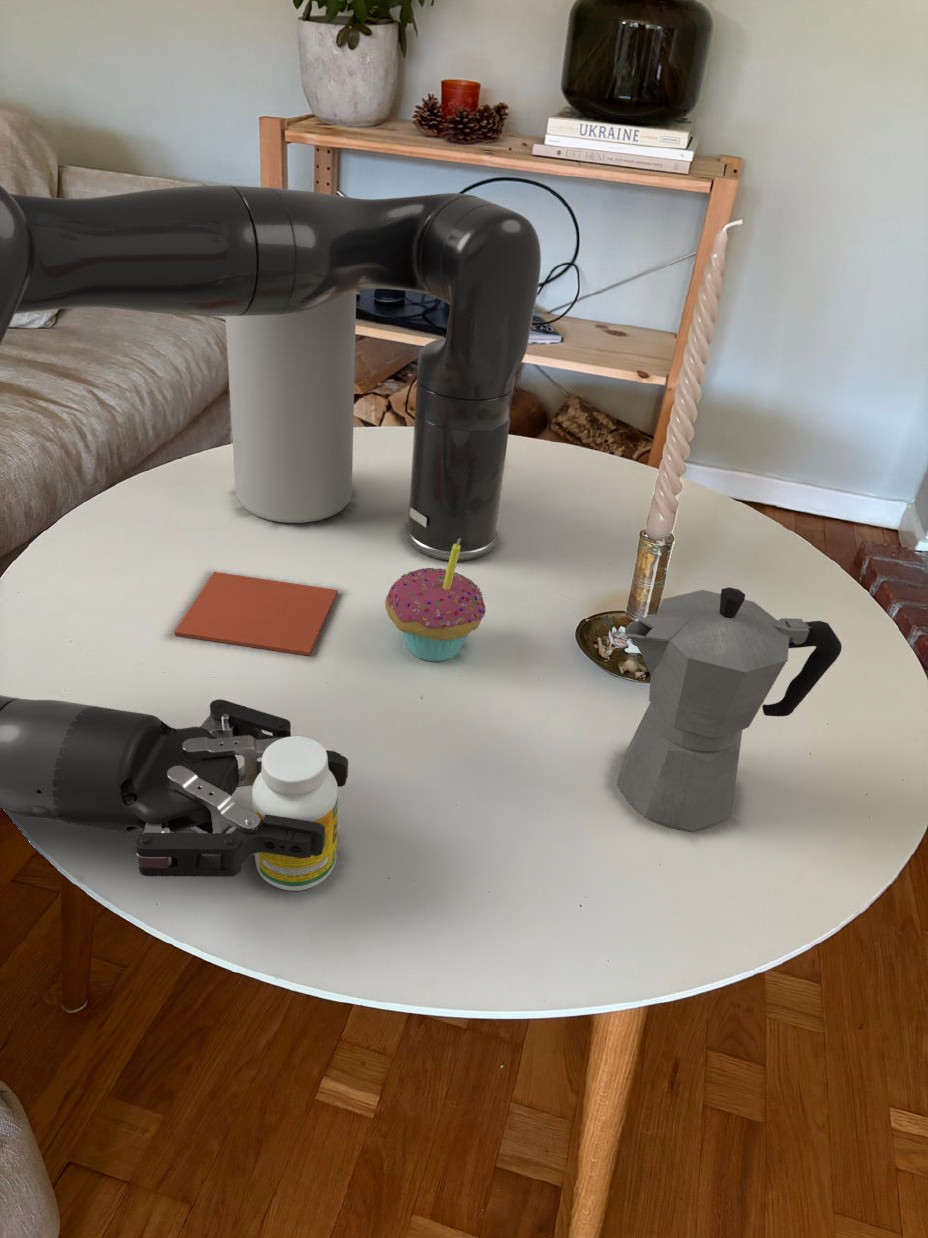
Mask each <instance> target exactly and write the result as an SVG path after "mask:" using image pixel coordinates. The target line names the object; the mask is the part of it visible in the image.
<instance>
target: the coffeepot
mask: <svg viewBox="0 0 928 1238" xmlns="http://www.w3.org/2000/svg"><path fill="white" fill-rule="evenodd" d="M745 598H746V593H744V592H743V591H742V590H741V589H738V588H734V587H730V586H727V587H724V588H721V591H720V593H718V592H714V591H709V590H705V589H700V590H696V591H692V592H687V593H683V594H679V595H674V596H671V597H667V598H663V599H661V603H660V606H659V608H658V613H656V614H653V615H649V616H645V617H639V618H638V619H637V620H635V621H631V622H630V623H628V625H627V626H626V628H625V630H624V636H625V638H627V639H629V640H631V641H633V643H634V644H635V646H636V647H637V649H638V651H639V653H640V655H641V657H642V659H643V661H644V663H645V666H646V668H647V670H648V673H649V675H650V681H649V683H650V684H649V694H648V696H649V697H648V701H649V704H648V706H647V708H646V710H645V712H644V714H643V716H642V718H641V720H640V722H639V724H638V726H637V729H636V730H635V732H634V734H633V736H632V737H631V738H632V739H631V740H630V742H629V744H628V747H627V749H626V751H625V752H624V755H623V759H622V762H621V766H620V769H619V770H620V771H619V774H618V777H617V782H616V787H617V788H618V789H619V791H620V793H621V794H622V795H623V797H624V798H625V800H626V801H627V802H628V804H629V805H630V806H631V807H632V808H633V809H634V810H635V811H636V812H637V813H639V814H640V815H642V816H643V818H644V819H647V820H649V821H652V822H653V823H656V824H658V825H661V826H664V827H667V828H670V829H675V830H681V831H691V832H696V831H702V830H705V829H708V828H712V827H714V826H716V825H718V824H720V823H721V822H722V821H724V820H726V819H730V818H732V812H733V805H734V803H733V802H734V797H735V789H736V781H737V774H738V766H739V758H740V752H741V751H740V750H741V744H742V736H743V730H745V729H748V728H750V726H751V725H752V723H753V722H754V719H755V717H756V716H757V713H758V712H759V710H760V709H761V708H762V713H763V715H764V716H767V717H788V716H790V715H792V713H793V712H794V711H795V710H796V708H797V707H798V706H799V705H800V704H801V702H803V700H804V699H805V698H806V697H807V695H808V694H809V693H810V692H811V690H812V689H813V688H814V687H815V686H816V684H817V683H818V682H819V681H820V680H821V678H822V677H823V676H824V674H825V673H826V672H827V671H828V670H829V669H830V668H831V667H832V665H834V663H835V662H836V661H837V660H838V658H839V656H840V655H841V653H842V648H843V645H842V642H841V640H840V639H839V638H838V636H837V635H836V633H835V631H834V630H833V628H832V627H831V625H830V624H829V622H825V621H822V620H813V621H803V619H802V618H783V617H782V618H779V619H776V618H775V617H774V616H772V615H771V614H770V613H769V612H768V611H766V610H765V609H763V607H761V606H760V605H759V604H757V603H756V602H755V601H752V600H749V599H745ZM809 647H815V648H814V649H813V651H812V652H811V653H810V655H808V657H807V659H806V660H805V662H804V664H803V666H802V667H801V670H800V672H799V673H798V674H797V675H795V677H794V678H792V679H791V681H790V682H789V684H788V685H787V688H786V689H785V690H786V691H785V693H784V696H783V698H782V699H781V700H780V701H777V702H774V703H771V704H766V703H765V704H763V703H764V701H765V700H766V699H767V696H768V695H769V693H770V691H771V689H772V688H773V685H774V684H775V682H776V681H777V679H778V677H779V675H780V673H781V672H782V670H783V668H784V667H785V664H786V663H787V662H788V661H789V649H800V648H809Z"/></svg>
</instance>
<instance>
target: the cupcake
mask: <svg viewBox="0 0 928 1238" xmlns="http://www.w3.org/2000/svg"><path fill="white" fill-rule="evenodd" d="M460 540H461V539H460V538H459V539H458V541H457V544H454V545H453V546H452V551H451V555H450V559H449V560H448V563H447V567H446V568H440V567H439V568H434V567H425V568H418V569H416V570H412V571H409V572H408V573H403V574H402V575H400V578H398V579H397V580H396V581H394V582H393V584H392V585H391V587H390V588H389V591H388V593H387V595H386V597H385V599H384V600H385V602H384V606H385V610H386V613H387V615H388V617H389V618H390V620H391V621H392V623H393V624H394V625H395V626H396V628H397V629H398V630H399V631H400V632H401V633H402V634H403V637H404V640H405V644H406V647H407V649H408V651H409V652H410V653H411V654H412V655H413V656H414V657H416V658H419V659H420V660H425V661H429V662H443V661H446V660H450V659H452V658H454V657H455V656H457V654H458V653H459V652H460V651H461V649H462V646H463V644H464V642H465V640H466V638H467V637H468V635H469V634H470V633H471V632H472V631H475V630H476V629H478V628H479V626H480V624H481V621H482V620H483V618H484V617H485V616H486V611H487V609H486V604H485V602H484V597H483V592H482V591H481V588H480V587H478V584H475V582H474V581H473V580H472V579H470V578H469V577H467V576H465V575H463V574H461V573H459V572H455V571H456V567H457V564H458V561H457V560H458V556H459V552H460V545H459V543H460Z"/></svg>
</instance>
